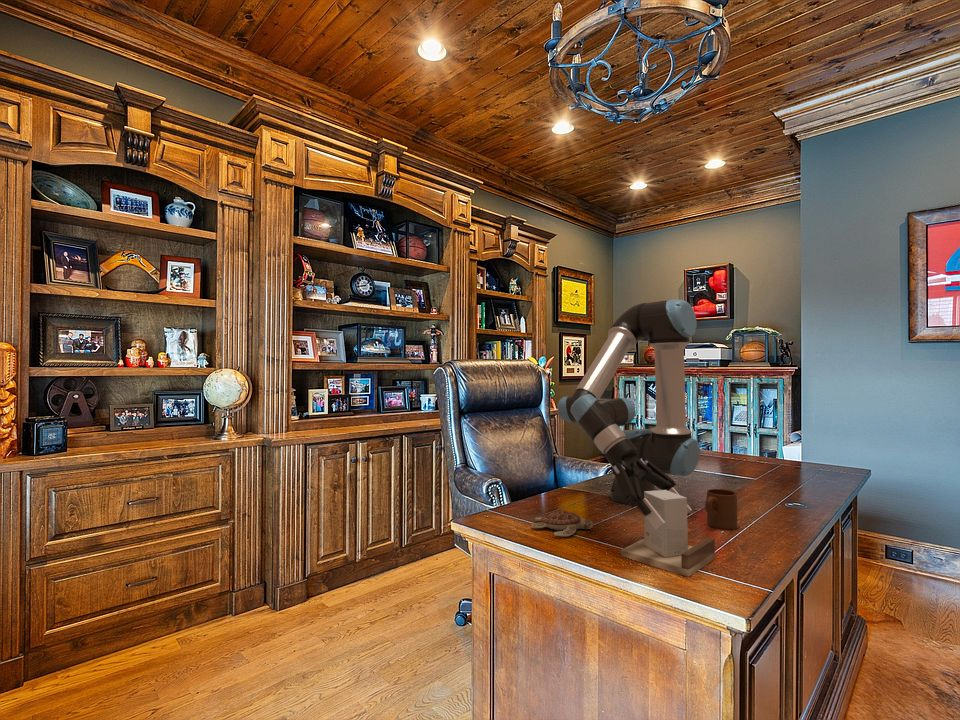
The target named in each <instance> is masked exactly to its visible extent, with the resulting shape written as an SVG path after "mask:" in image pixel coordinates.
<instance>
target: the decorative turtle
mask: <svg viewBox="0 0 960 720" xmlns="http://www.w3.org/2000/svg"><path fill="white" fill-rule="evenodd" d="M534 521H540V522H535V523H531V527H532V528H536V529H543V528H549V529H551V530H556V531H555V532H553V535H554V536H556V537H571V536H572V535H574V534H575V533H576V531H577V530H579V529H582V530H590V529H592V528H593V527H594V523H593V521H592V520H590V519H588V518H587V519H586V518H582V517H581V516H580V515H578V514H576V513H574V512H573V511H572V512H571V511H567V510H557V511H553V512H550V513H548V514H546V515H544V516H537V517H535V518H534ZM562 530H563V531H562Z"/></svg>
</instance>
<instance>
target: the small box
mask: <svg viewBox="0 0 960 720" xmlns="http://www.w3.org/2000/svg"><path fill="white" fill-rule="evenodd" d="M678 494H679V493H678ZM678 494H675V493H673V492H670V491H667V490H661V489H659V490H657V489H656V491H644V498H646V499H647V500H648V501H649V502H650V504H651V505H652V506H653V508H654V509H655V510H656V511H657V513H658V514H659V515H660V516H661V518H662V519H663V520H664V521H665V523H664V524H663V525H662V526H661V527H659V528H658V529H657V530H655V529H654V527H653V526H652V525H651V523H650V522H649V521H648V519H647V518H646V517H645V516H644V515H643V517H644V518H643V520H644V521H643V523H644V525H643V527H644V528H643V529H644V533H643V534H644V538H645V546H647V547H649V548H650V549H652V550H654V551H655V552H657V553H659V554H660V555H662V556H664V557H671V556H679V555H681V554H682V553H683V552H685V551H687V550H688V544H689V542H688V541H689V540H688V539H689V538H688V537H689V535H688V533H689V532H688V531H689V530H688V513H687V504H688V497H686V496H683V495H680V494H679V495H678Z"/></svg>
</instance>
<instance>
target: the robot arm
mask: <svg viewBox="0 0 960 720" xmlns="http://www.w3.org/2000/svg"><path fill="white" fill-rule="evenodd" d="M697 324H698V322H697V316H696V312H695V310H694V308H693V307H692V305H691V304H690V303H689V302H688V301H686V300H684V299H668V300H660V301H654V302H641V303H639V304H635V305H633V306H631V307H629V308H628V309H626V310H625V311H624V312H623V313H622V314H621V315H620V316H619V317H618V318H616V320H615V321H614V323H613V324H612V325H611V326H610V327H609V330H608V332H607V339H606V341H605V342H604V344H603V345H602V346H601V348H600V350H599V352H598V353H597V354H596V357H595V358H594V359H593V361H592V363H591V364H590V365H589V368H588V369H587V371H586V373H585V374H584V376H583V378H582V379H581V380H580V382H579V384H578V385H577V387H576V388H575V391H573V393H572V394H571V396H570V395H568V396H563V397H561V398H560V399H559V400H558V403H557V408H556V409H557V413H558V417H559V418H560V419H561V420H563V421H565V422H568V423H572V424H575V423H577V424H578V425H579V426H580V427H581V429H583V430H584V432H585V434H587V435H588V437H589V438H590V440H591V441H592V442H593V443H594V444H595V446H596V447H597V449H598V450H599V451H600V453H602V455H605V456H604V457H605V459H606V460H607V462H608V463H609V464H610V466H611V469H610V470H611V472H612V473H613V475H614V478H613V481H612V484H611V487H610V490H609V497H610V499H611V500H612V501H613V502H617V503H619V504H625V505H630V507H632V508H634V507H635V506H637V509H639V511H640V513H642V515H643V517H644V516H645V517H646V518H647V519H648V521H649V522H650V523H651V525H652V526H653V527H654V529H655V530H657V529H658V528H659V527H661V526H662V525H663V524H664V523H665V521H664V520H663V519H662V518H661V516H660V515H659V514H658V513H657V511H656V510H655V509H654V508H653V506H652V505H651V504H650V502H649V501H648V500H647V499H646V498H644V491H657V488H658V489H659V490H667V491H670V492H673V493H675V494H678V495H680V494H679V492H678V491H677V490H676V489H675V488H674V487H675V486H676V485H677V484H676V482H675V481H676V480H675V481H674V479H672V478H671V477H670V475H671V476H681V477H686V476H689V475H691V474H692V473H693V472H694V471H695V470H696V468H697V466H698V463H699V460H700V454H701V448H700V444H699V441H698V440H697V439H695V438H693V437H692V430H691V429H690V428H688V427H687V420H686V416H687V415H686V413H687V412H686V411H687V410H686V376H685V375H686V374H685V373H686V372H685V348H686V347H687V346H688V345H689V344H690V338H692V337H693V336H694V335H695V334H696V332H697V331H696V330H697V328H698V327H697V326H698V325H697ZM642 340H648V343H649V345H648V346H651V348H652V349H653V350H654V374H655V375H654V377H655V378H654V381H655V382H654V383H655V385H654V386H655V411H656V413H655V417H656V422H655V423H656V426H655V427H653V428H652V429H649V428H638V429H626V430H622V428H620V427H623V426H625V425H628V424H631V422H633V421H634V419H635V417H636V414H637V413H636V407H635V404H634V403H633V402H632V400H630V399H628V398H627V397H616V398H602V396H603V394H604V392H605V390H606V389H607V387H608V386H609V383H611V380H612V379H613V377H614V375H615V374H616V372H617V370H618V369H619V367H620V366H621V363H623V360H624V358H625V357H626V355H627V353H628V352H629V350H630V349H631V350H632V349H633V348H634V347H635V346H636V344H637V343H638V342H639V341H642ZM668 474H669V475H668ZM692 510H693V509H692V508H691V507H690V505H689V504H688V503H687V514H689V513H690V512H691V511H692Z"/></svg>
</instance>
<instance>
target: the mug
mask: <svg viewBox="0 0 960 720" xmlns="http://www.w3.org/2000/svg"><path fill="white" fill-rule="evenodd" d="M704 505H705V506H704V508H705V512H706V521H707V522H706V523H707V525H708V526H710V527H711V528H713V529H717V530H722V531H723V530H724V531H731V530H735V529H736V528H737V527H738V497H737V493H736V491H733V490H729V489H724V488H723V489H721V488H711V489H707V491H706V500H705V503H704Z"/></svg>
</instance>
